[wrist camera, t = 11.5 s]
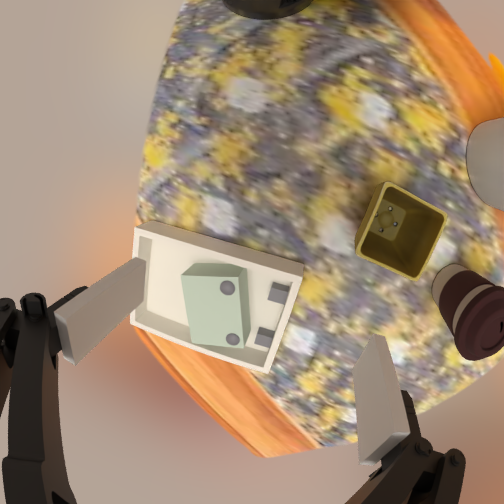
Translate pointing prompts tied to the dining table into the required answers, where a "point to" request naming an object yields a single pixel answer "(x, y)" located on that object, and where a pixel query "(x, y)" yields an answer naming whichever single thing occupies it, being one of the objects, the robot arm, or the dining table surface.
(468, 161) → the utensil holder
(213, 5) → the dining table surface
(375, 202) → the flower pot
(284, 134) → the dining table surface
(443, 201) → the dining table surface
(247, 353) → the tray
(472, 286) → the coffee cup
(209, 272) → the dotted green block
